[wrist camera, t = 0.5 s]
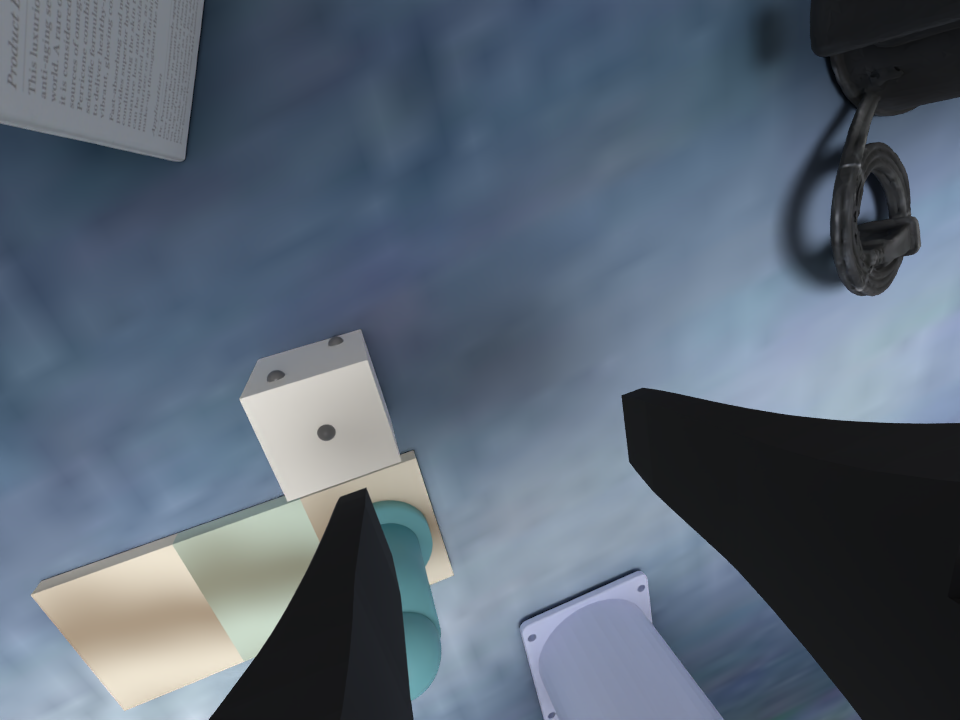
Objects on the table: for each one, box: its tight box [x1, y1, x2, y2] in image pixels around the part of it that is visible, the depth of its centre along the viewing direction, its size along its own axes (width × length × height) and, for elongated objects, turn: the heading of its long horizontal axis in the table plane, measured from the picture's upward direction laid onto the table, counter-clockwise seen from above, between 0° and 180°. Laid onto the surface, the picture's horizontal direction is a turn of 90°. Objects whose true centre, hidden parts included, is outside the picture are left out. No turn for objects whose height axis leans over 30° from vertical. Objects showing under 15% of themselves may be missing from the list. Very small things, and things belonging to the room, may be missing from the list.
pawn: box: [372, 500, 441, 701], centre depth 18 cm, size 4×4×7 cm
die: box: [240, 329, 401, 501], centre depth 17 cm, size 4×4×4 cm
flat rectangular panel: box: [31, 450, 454, 711], centre depth 21 cm, size 7×15×1 cm, turn 103°
